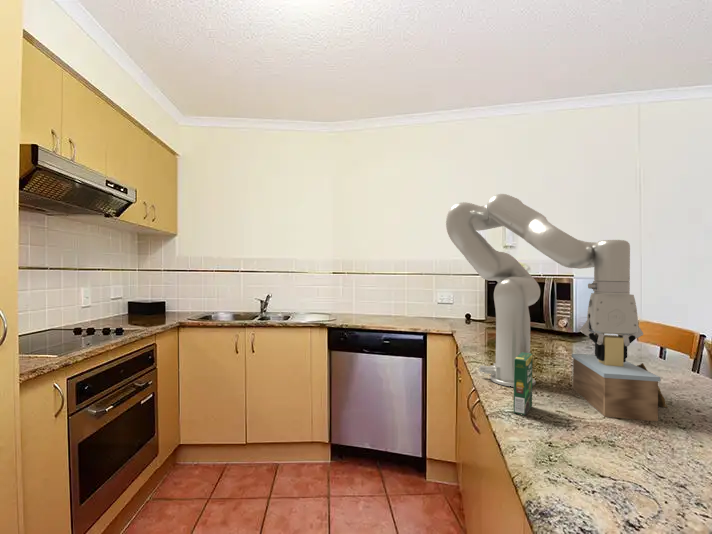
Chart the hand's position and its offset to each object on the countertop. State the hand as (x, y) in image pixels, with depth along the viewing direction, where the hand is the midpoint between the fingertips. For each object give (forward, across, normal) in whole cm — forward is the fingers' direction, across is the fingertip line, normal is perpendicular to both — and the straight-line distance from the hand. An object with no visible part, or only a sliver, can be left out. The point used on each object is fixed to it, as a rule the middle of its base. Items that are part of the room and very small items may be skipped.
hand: (610, 359), depth 94 cm
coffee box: (+11, -23, -11) cm, 28 cm away
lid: (+2, 0, 0) cm, 2 cm away
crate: (+11, 0, 0) cm, 11 cm away
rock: (+11, +11, +6) cm, 17 cm away
